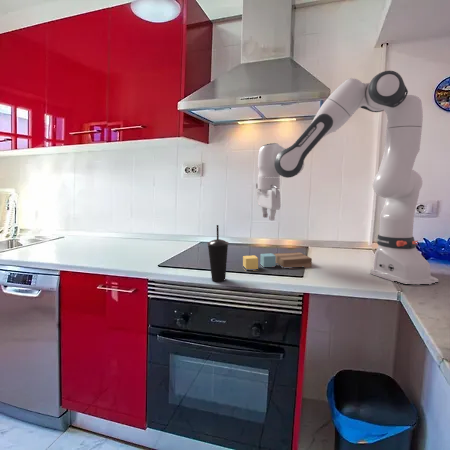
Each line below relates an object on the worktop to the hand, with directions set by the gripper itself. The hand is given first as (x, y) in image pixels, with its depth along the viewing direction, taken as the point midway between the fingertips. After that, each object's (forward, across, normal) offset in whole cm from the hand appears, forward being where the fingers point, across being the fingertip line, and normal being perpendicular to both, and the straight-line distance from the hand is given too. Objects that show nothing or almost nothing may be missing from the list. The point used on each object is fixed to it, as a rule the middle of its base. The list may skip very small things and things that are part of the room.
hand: (268, 218), depth 131 cm
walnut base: (+20, 0, -11) cm, 23 cm away
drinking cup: (+20, -16, +23) cm, 34 cm away
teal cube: (+20, -1, 0) cm, 20 cm away
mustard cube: (+20, -3, +8) cm, 22 cm away
